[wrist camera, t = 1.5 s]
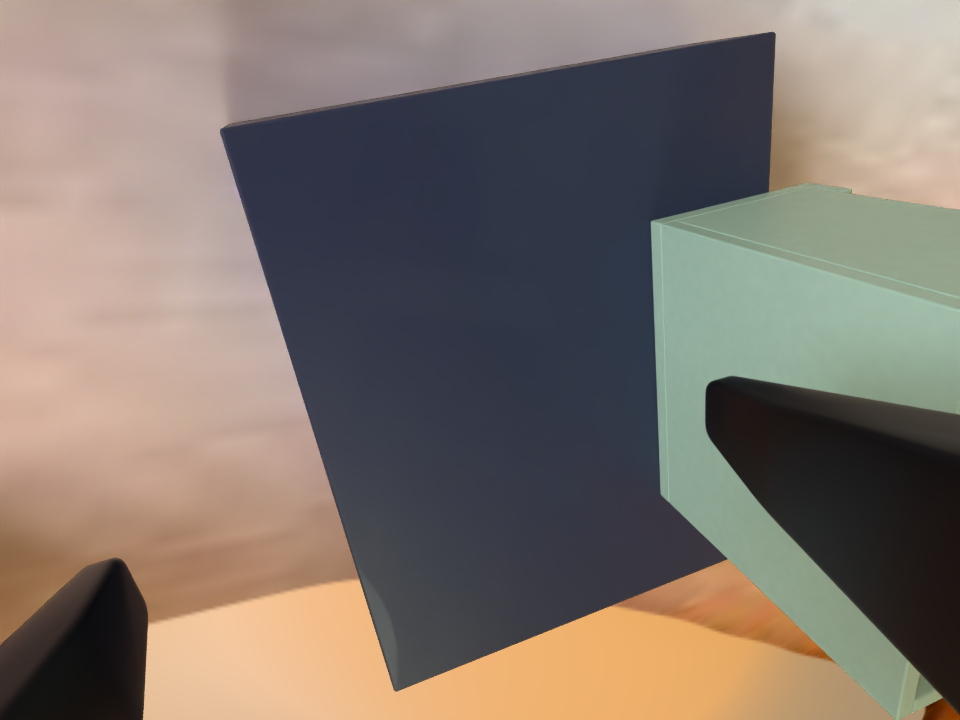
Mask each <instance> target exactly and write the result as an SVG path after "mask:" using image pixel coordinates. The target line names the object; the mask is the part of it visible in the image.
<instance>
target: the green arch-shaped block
mask: <svg viewBox="0 0 960 720" xmlns="http://www.w3.org/2000/svg"><path fill="white" fill-rule="evenodd" d="M651 243H652V271H653V298H654V326H655V353H656V381H657V408H658V435H659V463H660V490H661V495H662V496H663V497H664V498H665V499H666V500H667V501H668V502H670V504H671V505H672V506H673V507H674V508H675V509H676V510H677V511H679V512H680V513H681V514H682V515H683V516H684V517H685V518H686V519H687V520H688V521H689V522H690V523H691V524H692V525H693V526H694V527H695V528H696V529H697V530H698V531H699V532H700V533H701V534H702V535H704V536H705V537H706V538H707V539H708V540H709V541H710V542H711V543H712V544H713V545H714V546H715V547H716V548H717V549H718V550H719V551H720V552H721V553H722V554H723V555H724V556H725V557H726V558H727V559H728V560H730V561H731V562H732V563H733V564H734V565H735V566H736V567H737V568H738V569H739V570H740V571H741V572H742V573H743V574H744V575H745V576H746V577H747V578H748V579H749V580H750V581H751V582H752V583H753V584H754V585H756V586H757V587H758V588H759V589H760V590H761V591H762V592H763V593H764V594H765V595H766V596H767V597H768V598H769V599H770V600H771V601H772V602H773V603H774V604H775V605H776V606H777V607H778V608H779V609H781V610H782V611H783V612H784V613H785V614H786V615H787V616H788V617H789V618H790V619H791V620H792V621H793V622H794V623H795V624H796V625H797V626H798V627H799V628H800V629H801V630H802V631H803V632H804V633H805V634H807V635H808V636H809V637H810V638H811V639H812V640H813V641H814V642H815V643H816V644H817V645H818V646H819V647H820V648H821V649H822V650H823V651H824V652H825V653H826V654H827V655H828V656H829V657H830V658H832V659H833V660H834V661H835V662H836V663H837V664H838V665H839V666H840V667H841V668H842V669H843V670H844V671H845V672H846V673H847V674H848V675H849V676H850V677H851V678H852V679H853V680H854V681H855V682H857V683H858V684H859V685H860V686H861V687H862V688H863V689H864V690H865V691H866V692H867V693H868V694H869V695H870V696H871V697H872V698H873V699H874V700H875V701H876V702H878V704H879V705H880V706H881V707H883V708H884V709H885V710H886V711H887V712H888V713H889V714H890V715H891V716H892V717H893V718H894V719H895V720H899V719H901V718H903V717H905V716H907V715H909V714H911V713H912V712H915V711H917V710H919V709H921V708H923V707H925V706H927V705H929V704H931V703H933V702H935V701H937V700H939V699H941V698H943V697H942V696H941V695H940V694H939V693H938V692H937V691H936V690H935V689H934V688H933V687H932V686H931V684H930V683H929V682H928V681H927V680H926V679H925V678H924V677H923V676H922V675H921V674H920V673H919V672H918V671H917V670H916V669H915V668H914V667H913V666H912V664H911V663H910V662H909V661H908V660H907V659H906V658H905V657H904V656H903V655H902V654H901V653H900V652H899V651H898V650H897V649H896V648H895V647H894V646H893V644H892V643H891V642H890V641H889V640H888V639H887V638H886V637H885V636H884V635H883V634H882V633H881V632H880V631H879V630H878V629H877V628H876V627H875V626H874V624H873V623H872V622H871V621H870V620H869V619H868V618H867V617H866V616H865V615H864V614H863V613H862V612H861V611H860V610H859V609H858V608H857V607H856V606H855V605H854V603H853V602H852V601H851V600H850V599H849V598H848V597H847V596H846V595H845V594H844V593H843V592H842V591H841V590H840V589H839V588H838V587H837V586H836V585H835V583H834V582H833V581H832V580H831V579H830V578H829V577H828V576H827V575H826V574H825V573H824V572H823V571H822V570H821V569H820V568H819V567H818V566H817V565H816V563H815V562H814V561H813V560H812V559H811V558H810V557H809V556H808V555H807V554H806V553H805V552H804V551H803V550H802V549H801V548H800V547H799V546H798V545H797V543H796V542H795V541H794V540H793V539H792V538H791V537H790V536H789V535H788V534H787V533H786V532H785V531H784V530H783V529H782V528H781V527H780V526H779V525H778V523H777V522H776V521H775V520H774V519H773V518H772V517H771V516H770V515H769V514H768V513H767V511H766V510H765V509H764V508H763V507H762V506H761V504H760V503H759V502H758V501H757V500H756V498H755V497H754V496H753V495H752V493H751V492H750V491H749V489H748V488H747V487H746V486H745V484H744V483H743V482H742V480H741V479H740V478H739V476H738V475H737V474H736V473H735V471H734V470H733V469H732V467H731V466H730V465H729V464H728V462H727V461H726V460H725V458H724V457H723V456H722V454H721V453H720V452H719V451H718V449H717V448H716V447H715V445H714V444H713V443H712V441H711V440H710V438H709V436H708V434H707V432H706V427H705V393H706V387H707V385H708V384H709V383H710V382H711V381H714V380H717V379H720V378H724V377H727V376H738V377H744V378H750V379H756V380H762V381H767V382H773V383H779V384H785V385H791V386H796V387H802V388H808V389H814V390H820V391H825V392H831V393H837V394H843V395H849V396H855V397H860V398H866V399H872V400H878V401H884V402H889V403H895V404H901V405H907V406H913V407H919V408H924V409H930V410H936V411H942V412H948V413H953V414H959V415H960V210H957V209H950V208H943V207H936V206H929V205H923V204H916V203H909V202H902V201H895V200H888V199H882V198H875V197H868V196H861V195H854V194H852V189H849V188H841V187H834V186H827V185H820V184H813V183H804V184H800V185H796V186H792V187H788V188H784V189H780V190H776V191H772V192H767V193H763V194H759V195H755V196H751V197H747V198H743V199H739V200H735V201H731V202H727V203H723V204H719V205H714V206H710V207H706V208H702V209H698V210H694V211H690V212H686V213H682V214H678V215H674V216H670V217H665V218H661V219H657V220H653V221H651Z"/></svg>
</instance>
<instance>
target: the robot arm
mask: <svg viewBox="0 0 960 720" xmlns="http://www.w3.org/2000/svg"><path fill="white" fill-rule="evenodd" d="M705 427H706V432H707V434H708V436H709V438H710V440H711V441H712V443H713V444H714V445H715V447H716V448H717V449H718V451H719V452H720V453H721V454H722V456H723V457H724V458H725V460H726V461H727V462H728V464H729V465H730V466H731V467H732V469H733V470H734V471H735V473H736V474H737V475H738V476H739V478H740V479H741V480H742V482H743V483H744V484H745V486H746V487H747V488H748V489H749V491H750V492H751V493H752V495H753V496H754V497H755V498H756V500H757V501H758V502H759V503H760V504H761V506H762V507H763V508H764V509H765V510H766V511H767V513H768V514H769V515H770V516H771V517H772V518H773V519H774V520H775V521H776V522H777V523H778V525H779V526H780V527H781V528H782V529H783V530H784V531H785V532H786V533H787V534H788V535H789V536H790V537H791V538H792V539H793V540H794V541H795V542H796V543H797V545H798V546H799V547H800V548H801V549H802V550H803V551H804V552H805V553H806V554H807V555H808V556H809V557H810V558H811V559H812V560H813V561H814V562H815V563H816V565H817V566H818V567H819V568H820V569H821V570H822V571H823V572H824V573H825V574H826V575H827V576H828V577H829V578H830V579H831V580H832V581H833V582H834V583H835V585H836V586H837V587H838V588H839V589H840V590H841V591H842V592H843V593H844V594H845V595H846V596H847V597H848V598H849V599H850V600H851V601H852V602H853V603H854V605H855V606H856V607H857V608H858V609H859V610H860V611H861V612H862V613H863V614H864V615H865V616H866V617H867V618H868V619H869V620H870V621H871V622H872V623H873V624H874V626H875V627H876V628H877V629H878V630H879V631H880V632H881V633H882V634H883V635H884V636H885V637H886V638H887V639H888V640H889V641H890V642H891V643H892V644H893V646H894V647H895V648H896V649H897V650H898V651H899V652H900V653H901V654H902V655H903V656H904V657H905V658H906V659H907V660H908V661H909V662H910V663H911V664H912V666H913V667H914V668H915V669H916V670H917V671H918V672H919V673H920V674H921V675H922V676H923V677H924V678H925V679H926V680H927V681H928V682H929V683H930V684H931V686H932V687H933V688H934V689H935V690H936V691H937V692H938V693H939V694H940V695H941V696H942V697H943V698H944V699H945V700H946V701H947V702H948V703H949V704H950V706H951V707H952V708H953V709H954V710H955V711H956V712H957V713H958V714H959V715H960V415H959V414H953V413H948V412H942V411H936V410H930V409H924V408H919V407H913V406H907V405H901V404H895V403H889V402H884V401H878V400H872V399H866V398H860V397H855V396H849V395H843V394H837V393H831V392H825V391H820V390H814V389H808V388H802V387H796V386H791V385H785V384H779V383H773V382H767V381H762V380H756V379H750V378H744V377H738V376H727V377H724V378H720V379H717V380H714V381H711V382H710V383H709V384H708V385H707V387H706V393H705ZM147 630H148V611H147V606H146V603H145V600H144V598H143V596H142V594H141V592H140V590H139V588H138V587H137V585H136V583H135V581H134V579H133V577H132V575H131V573H130V571H129V569H128V567H127V565H126V564H125V563H124V562H123V561H122V560H121V559H119V558H111V559H108V560H105V561H101V562H98V563H95V564H91V565H88V566H86V567H84V568H83V569H82V570H81V571H80V572H79V573H78V574H76V575H75V576H74V577H73V578H72V579H71V580H70V581H69V582H68V583H67V584H66V585H65V586H64V587H62V588H61V589H60V590H59V591H58V592H57V593H56V594H55V595H54V596H53V597H52V598H51V599H50V600H48V601H47V602H46V603H45V604H44V605H43V606H42V607H41V608H40V609H39V610H38V611H37V612H36V613H34V614H33V615H32V616H31V617H30V618H29V619H28V620H27V621H26V622H25V623H24V624H23V625H22V626H20V627H19V628H18V629H17V630H16V631H15V632H14V633H13V634H12V635H11V636H10V637H9V638H8V639H6V640H5V641H4V642H3V643H2V644H1V645H0V720H143V710H144V691H145V671H146V670H145V669H146V651H147Z"/></svg>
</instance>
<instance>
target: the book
mask: <svg viewBox="0 0 960 720" xmlns="http://www.w3.org/2000/svg"><path fill="white" fill-rule="evenodd" d="M775 37H776V34H775V33H774V32H768V33H761V34H754V35H748V36H741V37H734V38H727V39H720V40H713V41H707V42H700V43H693V44H687V45H681V46H676V47H670V48H664V49H658V50H653V51H647V52H641V53H635V54H630V55H624V56H618V57H612V58H606V59H601V60H595V61H589V62H583V63H578V64H572V65H566V66H560V67H555V68H549V69H543V70H537V71H532V72H526V73H520V74H514V75H508V76H503V77H497V78H491V79H485V80H480V81H474V82H468V83H462V84H457V85H451V86H445V87H439V88H434V89H428V90H422V91H416V92H411V93H405V94H399V95H393V96H387V97H382V98H376V99H370V100H364V101H359V102H353V103H347V104H341V105H336V106H330V107H324V108H318V109H313V110H307V111H301V112H295V113H289V114H284V115H278V116H272V117H266V118H261V119H255V120H249V121H243V122H238V123H232V124H228V125H226V126H225V127H223V128H222V129H220V134H221V137H222V140H223V144H224V147H225V150H226V153H227V156H228V160H229V163H230V166H231V169H232V172H233V176H234V179H235V182H236V185H237V188H238V192H239V195H240V198H241V201H242V204H243V208H244V211H245V214H246V217H247V220H248V224H249V227H250V230H251V233H252V236H253V240H254V243H255V246H256V249H257V252H258V256H259V259H260V262H261V265H262V269H263V272H264V275H265V278H266V281H267V285H268V288H269V291H270V294H271V297H272V301H273V304H274V307H275V310H276V313H277V317H278V320H279V323H280V326H281V329H282V333H283V336H284V339H285V342H286V345H287V349H288V352H289V355H290V358H291V361H292V365H293V368H294V371H295V374H296V377H297V381H298V384H299V387H300V390H301V394H302V397H303V400H304V403H305V406H306V410H307V413H308V416H309V419H310V422H311V426H312V429H313V432H314V435H315V438H316V442H317V445H318V448H319V451H320V454H321V458H322V461H323V464H324V467H325V470H326V474H327V477H328V480H329V483H330V486H331V490H332V493H333V496H334V499H335V503H336V506H337V509H338V512H339V515H340V519H341V522H342V525H343V528H344V531H345V535H346V538H347V541H348V544H349V547H350V551H351V554H352V557H353V560H354V563H355V567H356V570H357V573H358V576H359V579H360V583H361V586H362V589H363V592H364V595H365V599H366V602H367V605H368V608H369V611H370V615H371V618H372V621H373V624H374V628H375V631H376V634H377V637H378V640H379V643H380V647H381V650H382V653H383V656H384V659H385V663H386V666H387V669H388V672H389V675H390V679H391V682H392V685H393V688H394V690H395V691H399V690H402V689H404V688H407V687H409V686H411V685H414V684H417V683H419V682H422V681H424V680H426V679H429V678H432V677H434V676H437V675H439V674H442V673H444V672H447V671H449V670H452V669H454V668H456V667H459V666H462V665H464V664H466V663H469V662H472V661H474V660H476V659H479V658H482V657H484V656H487V655H489V654H492V653H494V652H497V651H499V650H502V649H504V648H507V647H509V646H511V645H514V644H517V643H519V642H522V641H524V640H527V639H529V638H532V637H534V636H537V635H539V634H542V633H544V632H547V631H549V630H552V629H554V628H556V627H559V626H562V625H564V624H567V623H569V622H572V621H574V620H576V619H579V618H582V617H584V616H587V615H589V614H592V613H594V612H597V611H599V610H602V609H604V608H607V607H609V606H612V605H614V604H617V603H619V602H622V601H624V600H627V599H629V598H632V597H634V596H637V595H639V594H642V593H644V592H647V591H649V590H652V589H654V588H657V587H659V586H662V585H664V584H667V583H669V582H672V581H674V580H677V579H679V578H682V577H684V576H687V575H689V574H692V573H694V572H697V571H699V570H702V569H704V568H707V567H709V566H712V565H714V564H717V563H719V562H722V561H724V560H727V558H726V557H725V556H724V555H723V554H722V553H721V552H720V551H719V550H718V549H717V548H716V547H715V546H714V545H713V544H712V543H711V542H710V541H709V540H708V539H707V538H706V537H705V536H704V535H702V534H701V533H700V532H699V531H698V530H697V529H696V528H695V527H694V526H693V525H692V524H691V523H690V522H689V521H688V520H687V519H686V518H685V517H684V516H683V515H682V514H681V513H680V512H679V511H677V510H676V509H675V508H674V507H673V506H672V505H671V504H670V502H668V501H667V500H666V499H665V498H664V497H663V496H662V495H661V490H660V463H659V435H658V408H657V381H656V353H655V326H654V298H653V271H652V243H651V221H653V220H657V219H661V218H665V217H670V216H674V215H678V214H682V213H686V212H690V211H694V210H698V209H702V208H706V207H710V206H714V205H719V204H723V203H727V202H731V201H735V200H739V199H743V198H747V197H751V196H755V195H759V194H763V193H767V192H769V175H770V152H771V129H772V106H773V83H774V60H775Z"/></svg>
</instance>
